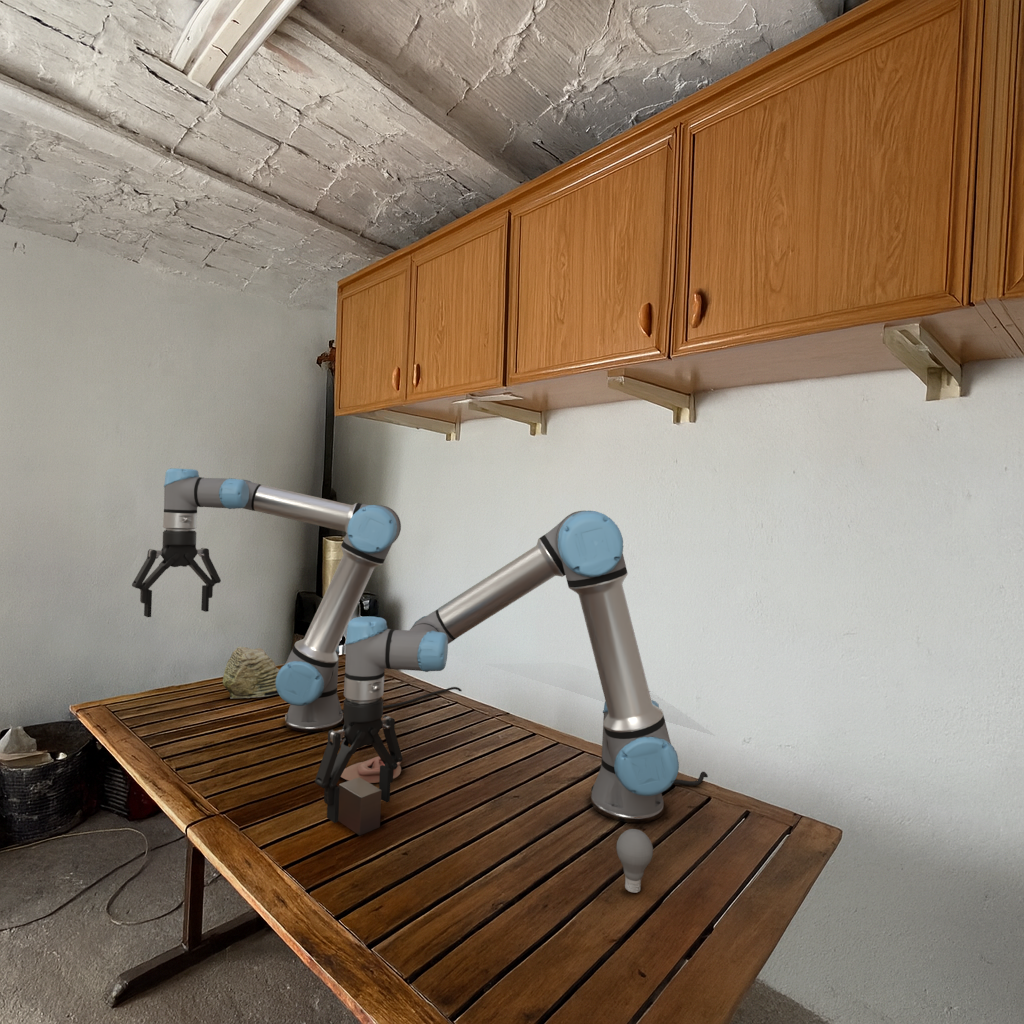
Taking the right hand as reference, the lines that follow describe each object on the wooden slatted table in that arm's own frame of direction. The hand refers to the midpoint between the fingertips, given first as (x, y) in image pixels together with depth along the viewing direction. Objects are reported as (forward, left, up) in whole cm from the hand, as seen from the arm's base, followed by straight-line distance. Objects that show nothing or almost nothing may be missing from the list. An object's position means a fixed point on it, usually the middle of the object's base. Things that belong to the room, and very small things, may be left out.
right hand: (359, 809), depth 123 cm
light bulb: (-45, +28, -3) cm, 53 cm away
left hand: (+47, -49, +29) cm, 74 cm away
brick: (0, 0, -3) cm, 3 cm away
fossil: (+33, -84, -3) cm, 90 cm away
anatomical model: (-2, -22, -3) cm, 23 cm away
